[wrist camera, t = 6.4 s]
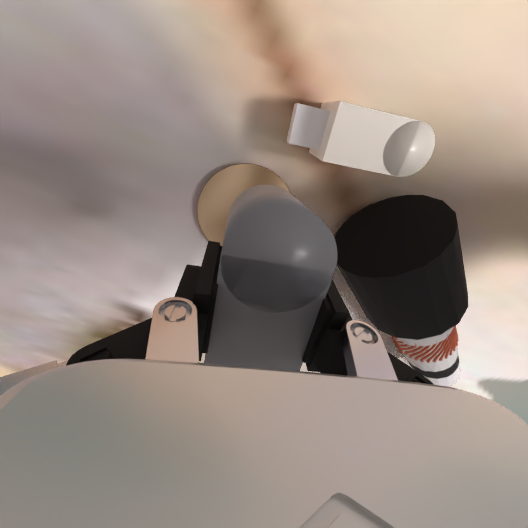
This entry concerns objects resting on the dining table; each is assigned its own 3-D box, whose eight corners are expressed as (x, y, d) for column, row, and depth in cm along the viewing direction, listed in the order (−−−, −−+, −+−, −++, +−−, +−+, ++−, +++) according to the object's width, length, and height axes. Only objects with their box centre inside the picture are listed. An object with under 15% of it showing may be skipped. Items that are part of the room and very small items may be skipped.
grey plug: (234, 176, 12) (230, 192, 7) (313, 193, 13) (353, 217, 8) (206, 352, 16) (193, 431, 12) (266, 358, 17) (276, 435, 12)
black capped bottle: (404, 350, 47) (407, 409, 41) (337, 212, 28) (325, 284, 22) (473, 352, 41) (489, 421, 35) (446, 181, 22) (471, 266, 16)
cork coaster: (305, 174, 25) (306, 175, 24) (281, 260, 30) (282, 263, 29) (201, 154, 23) (200, 155, 23) (195, 248, 28) (194, 251, 28)
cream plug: (408, 124, 23) (445, 127, 19) (389, 169, 25) (418, 181, 21) (292, 95, 21) (304, 92, 17) (282, 146, 23) (290, 154, 19)
